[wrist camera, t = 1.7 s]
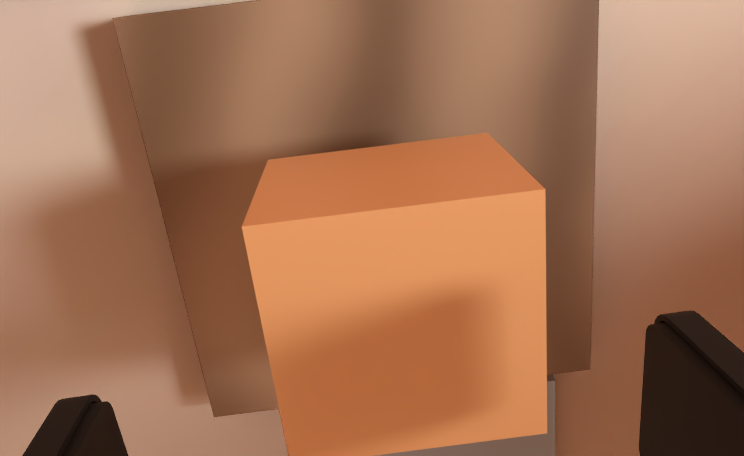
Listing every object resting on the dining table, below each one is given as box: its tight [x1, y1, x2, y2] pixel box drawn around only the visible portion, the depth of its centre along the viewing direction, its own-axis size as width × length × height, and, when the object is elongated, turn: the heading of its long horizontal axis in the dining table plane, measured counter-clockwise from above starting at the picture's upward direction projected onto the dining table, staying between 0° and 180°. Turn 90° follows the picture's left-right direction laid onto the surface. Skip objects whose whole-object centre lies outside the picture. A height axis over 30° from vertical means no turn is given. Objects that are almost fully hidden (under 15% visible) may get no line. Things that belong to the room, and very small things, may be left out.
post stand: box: [113, 0, 599, 417], centre depth 18 cm, size 14×14×8 cm
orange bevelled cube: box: [242, 133, 547, 456], centre depth 15 cm, size 6×6×5 cm
